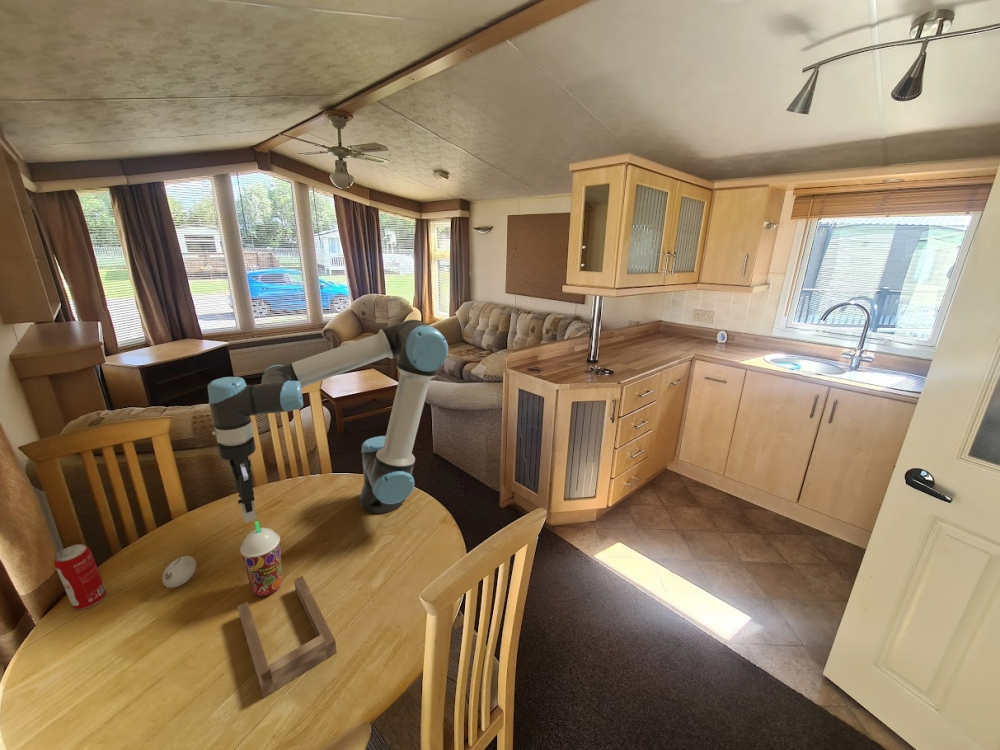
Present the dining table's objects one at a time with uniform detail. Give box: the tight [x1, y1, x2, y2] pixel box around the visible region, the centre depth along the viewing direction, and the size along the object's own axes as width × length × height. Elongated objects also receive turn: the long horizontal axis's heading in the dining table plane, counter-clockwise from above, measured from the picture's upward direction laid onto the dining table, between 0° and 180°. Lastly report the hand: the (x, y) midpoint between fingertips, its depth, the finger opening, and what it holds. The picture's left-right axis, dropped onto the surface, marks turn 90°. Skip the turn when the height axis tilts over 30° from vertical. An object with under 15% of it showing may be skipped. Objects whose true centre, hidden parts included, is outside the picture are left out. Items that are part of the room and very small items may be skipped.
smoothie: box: [239, 520, 284, 598], centre depth 96 cm, size 8×8×20 cm
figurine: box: [161, 554, 197, 588], centre depth 98 cm, size 8×6×7 cm
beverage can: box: [53, 543, 107, 610], centre depth 91 cm, size 6×6×15 cm
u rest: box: [237, 575, 338, 699], centre depth 87 cm, size 14×22×5 cm, turn 42°
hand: (250, 519), depth 104 cm, fingers closed
